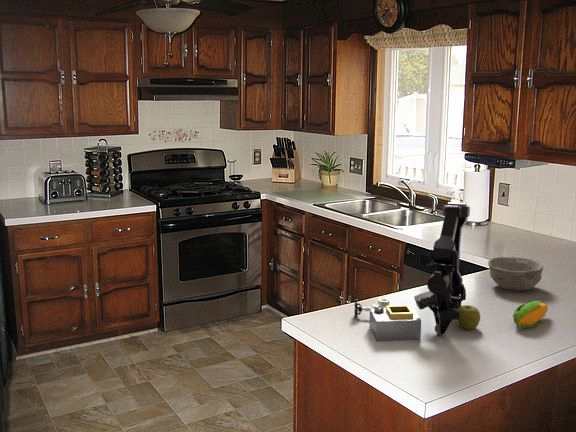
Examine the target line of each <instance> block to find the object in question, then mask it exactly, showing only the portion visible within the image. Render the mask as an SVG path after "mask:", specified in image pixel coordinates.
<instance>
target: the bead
mask: <svg viewBox="0 0 576 432" xmlns="http://www.w3.org/2000/svg"><path fill="white" fill-rule="evenodd" d="M447 330H448V329H447ZM447 330H446V332H445V334H446V333H447ZM434 332H435V333H436V334H437V335H438V336H443V335H444V334H441V332H440V325H439V323H438V324H436V323H435V326H434Z"/></svg>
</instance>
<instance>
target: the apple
mask: <svg viewBox="0 0 576 432" xmlns="http://www.w3.org/2000/svg"><path fill="white" fill-rule="evenodd" d="M457 311H458V312H459V313H460V319H459V320H456V321H457V324H458V325H459V326H460V327H461V328H464V329H466V330H475V329H476V328H477V327H479V324H480V321H481V314H480V310H479V309H478V308H477V307H476V306H473V305H470V304H469V305H468V304H465V305H461V306H460V307H459V308H458V309H457Z"/></svg>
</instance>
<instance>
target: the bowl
mask: <svg viewBox="0 0 576 432" xmlns="http://www.w3.org/2000/svg"><path fill="white" fill-rule="evenodd" d="M487 264H488V267H489V274H490V278H491V279H492V280H493V282H495V284H497V286H499V287H501V288H502V289H504V290H506V291H507V290H508V291H510V292H511V291H512V292H524V291H528V290H530V289H531V290H532V288H534V287H536V285H537V284H539V283H540V281H541V280H542V273H543V271H544V264H542V263H541V262H539V261H537V260H534V259H531V258H526V257H525V258H524V257H516V256H513V257H512V256H511V257H510V256H500V257H494V258H491V259H489V260H488V261H487Z"/></svg>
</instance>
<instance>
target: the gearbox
mask: <svg viewBox="0 0 576 432" xmlns="http://www.w3.org/2000/svg"><path fill="white" fill-rule="evenodd" d="M369 329H370V331H371V333H373V334H372V335H373V337H374V340H375V342H394V341H395V342H402V341H403V342H404V341H405V342H406V341H421V340H422V339H421V338H422V337H421V336H422V335H421V334H422V319H421V318H420V316H419V314H418V313H417V312H416V311H415V309H414V308H413V307H412V306H409V305H404V304H403V305H389V306H386V308H383V307H375V308H370V311H369Z"/></svg>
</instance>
